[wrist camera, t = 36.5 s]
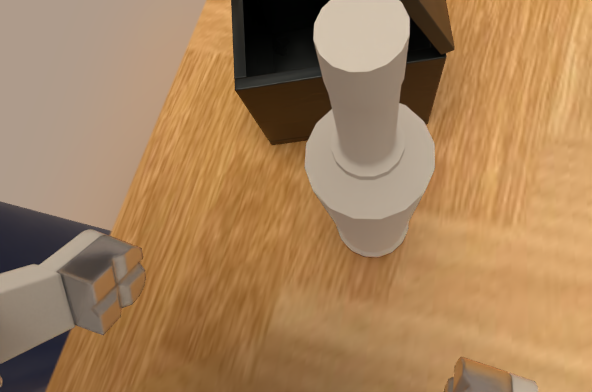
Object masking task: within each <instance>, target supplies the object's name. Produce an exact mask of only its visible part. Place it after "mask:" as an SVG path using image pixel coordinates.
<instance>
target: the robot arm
mask: <svg viewBox="0 0 592 392" xmlns="http://www.w3.org/2000/svg"><path fill="white" fill-rule="evenodd" d="M142 259H143V254H142V248H140V247H138V246H135V245H133V244H130V243H128V242H125V241H122V240H120V239H117V238H114V237H112V236H109V235H106V234H103V233H100V232H97V231H95V230H92V229H89V230H85V231H83V232H82V233H80V234H79V235H78V236H77V237H75V238H74V239H73V240H71V241H70V242H69V243H67V244H66V245H65V246H63V247H62V248H61V249H60V250H58V251H57V252H56V253H54V254H53V255H52V256H50V257H49V258H48V259H46V260H45V261H44V262H43V263H41V264H40V265H36V264H31V265H28V266H25V267H21V268H18V269H14V270H11V271H8V272H4V273H1V274H0V364H1V363H3V362H5V361H7V360H9V359H11V358H13V357H15V356H17V355H19V354H21V353H23V352H25V351H27V350H29V349H31V348H33V347H35V346H37V345H39V344H41V343H43V342H45V341H47V340H49V339H51V338H54V337H56V336H58V335H60V334H62V333H64V332H66V331H68V330H70V329H72V328H74V327H75V325H77V326H79V327H82V328H85V329H88V330H90V331H93V332H96V333H98V334H101V335H104V334H105V333H106V332H107V331H108V330H109V329H110V328H111V327H112V326H113V324H114V323H115V322H116V321H117V320H118V319H119V318H120V317H121V310H122V308H124V307H126V306H129V305H131V304H133V303H134V302H135V300H136V299H137V298H138V297H139V296H140V294H141V292H142V290H143V288H144V286H145V280H146V275H145V270H144V268H143V267H142V266H141V264H140V263H139V262H140V261H141V260H142ZM1 386H2V378H1V376H0V387H1ZM444 392H538V386H537V384H536V382H535V381H532V380H529V379H526V378H523V377H520V376H518V375H515V374H512V373H508V372H507V371H504V370H501V369H498V368H494V367H491V366H488V365H485V364H482V363H479V362H476V361H473V360H470V359H467V358H464V357H460V358H459V359H458V361H457V363H456V365H455V368H454V377H452V378H450V379H448V381H447V384H446V386H445V388H444Z"/></svg>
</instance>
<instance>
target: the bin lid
mask: <svg viewBox="0 0 592 392" xmlns="http://www.w3.org/2000/svg"><path fill="white" fill-rule="evenodd" d="M399 1H401V2H402V4H403V6H404V8H405V10H406V12H407V13H408V15H409V16H410V17H411V18H412V19H413V21H414V22H415V23H416V24H417V26H418V27H419V28H420V29H421V31H422V32H423V33H424V34H425V35H426V37H427V38H428V39H429V40H430V42H431V43H432V44H433V45H434V47H435V48H436V49H437V50H438V51H439V53H440V54H441V55H442V54H445V53H447V52H450V51H453V50H454V42H453V37H452V31H451V26H450V21H449V15H448V10H447V4H446V0H399Z"/></svg>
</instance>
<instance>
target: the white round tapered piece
mask: <svg viewBox="0 0 592 392" xmlns="http://www.w3.org/2000/svg"><path fill="white" fill-rule="evenodd" d="M409 35H410V18H409V16H408V14H407V12H406V10H405V8H404V6H403V4H402V2H401V1H399V0H330V1H329V2H328V3H327V4H326V5H325V6H324V7H322V9H321V11H320V13H319V15H318V17H317V19H316V21H315V23H314V37H313V40H314V44H315V48H316V52H317V57H318V61H319V65H320V69H321V73H322V77H323V81H324V84H325V86H326V89H327V91H328V94H329V98H330V102H331V107H332V109H331V110H330V111H329V112H328V113H327V114H326V115H325V116H324V117H323V118H322V119H320V120H319V121H318V122H317V123H316V125H315V127H314V129H313V131H312V133H311V135H310V137H309V139H308V142H307V144H306V154H305V170H306V173H307V176H308V178H309V181H310V184H311V186H312V189H313V191H314V193H315V194H316V196H317V197H318V199H319V200H320V201H321V203H322V204H323V206H324V207H325V209H326V210H327V212H328V213H329V215H330V216H331V218H332V219H333V221H334V222H335V224H336V225H337V229H338V232H339V234H340V237H341V239H342V241H343V242H344V243H345V244H346V245H347V246H348V247H349V248H350V249H351V250H352V251H353V252H355V253H358V254H360V255H362V256H364V257H381V256H383V255H386V254H389V253H392V252H393V251H394V250H395V249H396V248H397V247H398V246H399V245H400V244H401V243H402V242H403V240H404V238H405V235H406V233H407V231H408V222H409V220H410V218H411V216H412V215H413V213H414V211H415V209H416V207H417V205H418V203H419V202H420V200H421V198H422V196H423V194H424V192H425V190H426V188H427V185H428V183H429V181H430V178H431V176H432V174H433V172H434V169H435V144H434V142H433V140H432V137H431V135H430V133H429V131H428V129H427V127H426V125H425V123H424V121H423V120H422V119H421V118H419V117H418V116H417V115H416V114H415V113H414V112H413V111H412V110H410V109H409V108H408V107H407V106H406V105H403V104H401V103H399V101H400V91H401V84H402V82H403V80H404V76H405V68H406V59H407V51H408V43H409Z"/></svg>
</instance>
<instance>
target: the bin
mask: <svg viewBox="0 0 592 392" xmlns="http://www.w3.org/2000/svg"><path fill="white" fill-rule="evenodd" d="M329 1H330V0H231V6H232V31H233V55H234V78H235V91H236V92H237V94H238V95H239V97H240V98H241V100H242V101H243V103H244V104H245V106H246V107H247V109H248V110H249V112H250V113H251V115H252V116H253V118H254V119H255V121H256V122H257V123H258V125H259V126H260V128H261V129H262V131H263V132H264V134H265V135H266V137H267V138H268V140H269V141H270V143H271V144H272V145H275V144H282V143H289V142H297V141H304V140H308V139H309V137H310V135H311V133H312V131H313V129H314V127H315V125H316V123H317V122H318V121H319V120H320V119H322V118H323V117H324V116H325V115H326V114H327V113H328V112H329V111H330V110H331V109H332V107H331V102H330V98H329V94H328V91H327V89H326V86H325V84H324V81H323V77H322V73H321V69H320V65H319V61H318V57H317V52H316V48H315V44H314V40H313V37H314V23H315V21H316V19H317V17H318V15H319V13H320V11H321V9H322V7H324V6H325V5H326V4H327V3H328V2H329ZM407 14H408V13H407ZM408 16H409V15H408ZM409 18H410V35H409V43H408V51H407V59H406V68H405V76H404V80H403V82H402V84H401V91H400V101H399V103H401V104H403V105H406V106H407V107H408V108H409V109H410V110H412V111H413V112H414V113H415V114H416V115H417V116H418V117H419V118H421V119H422V120H423V121H424V123H425V124H428V121H429V117H430V113H431V110H432V106H433V103H434V99H435V96H436V92H437V89H438V85H439V82H440V78H441V74H442V71H443V67H444V64H445V60H446V53H445V54H442V55H441V54H440V53H439V51H438V50H437V49H436V48H435V47H434V45H433V44H432V43H431V42H430V40H429V39H428V38H427V37H426V35H425V34H424V33H423V32H422V31H421V29H420V28H419V27H418V26H417V24H416V23H415V22H414V21H413V19H412V18H411V17H410V16H409Z"/></svg>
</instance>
